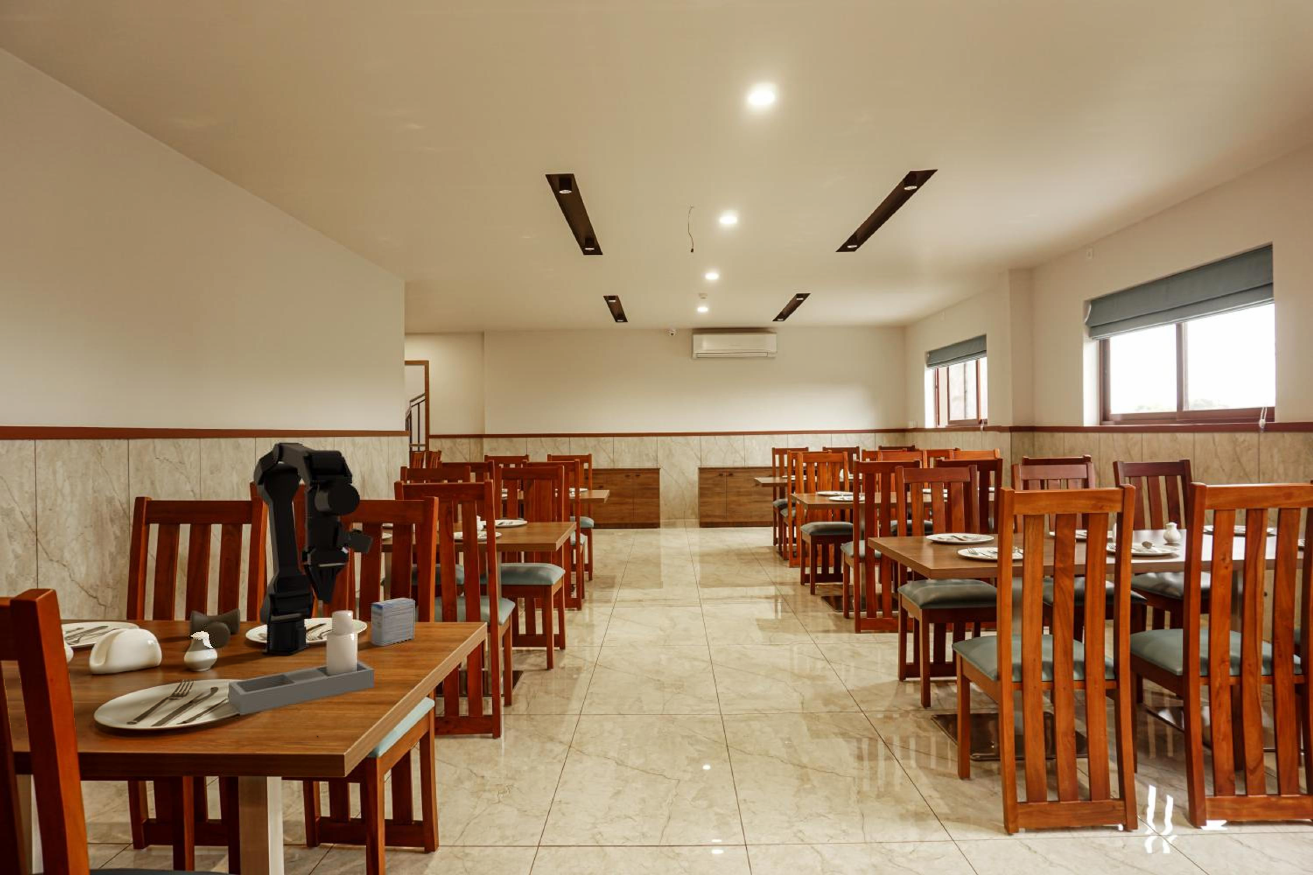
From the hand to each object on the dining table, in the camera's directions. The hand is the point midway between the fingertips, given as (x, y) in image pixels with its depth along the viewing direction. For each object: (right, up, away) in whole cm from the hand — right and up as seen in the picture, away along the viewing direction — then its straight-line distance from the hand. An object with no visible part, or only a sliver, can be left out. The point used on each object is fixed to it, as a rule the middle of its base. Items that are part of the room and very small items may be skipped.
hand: (324, 602), depth 133 cm
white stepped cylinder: (+8, -12, -11) cm, 18 cm away
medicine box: (+5, -14, +22) cm, 26 cm away
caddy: (+3, -12, -15) cm, 19 cm away
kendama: (-35, -14, +25) cm, 45 cm away
